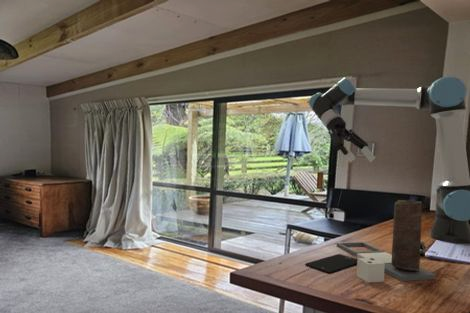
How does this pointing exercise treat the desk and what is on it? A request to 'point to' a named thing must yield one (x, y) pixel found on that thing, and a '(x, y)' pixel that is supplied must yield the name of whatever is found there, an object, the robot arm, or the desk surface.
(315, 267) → the cell phone
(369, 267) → the die
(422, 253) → the black chunky piece
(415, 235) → the candle
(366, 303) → the desk surface
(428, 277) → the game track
